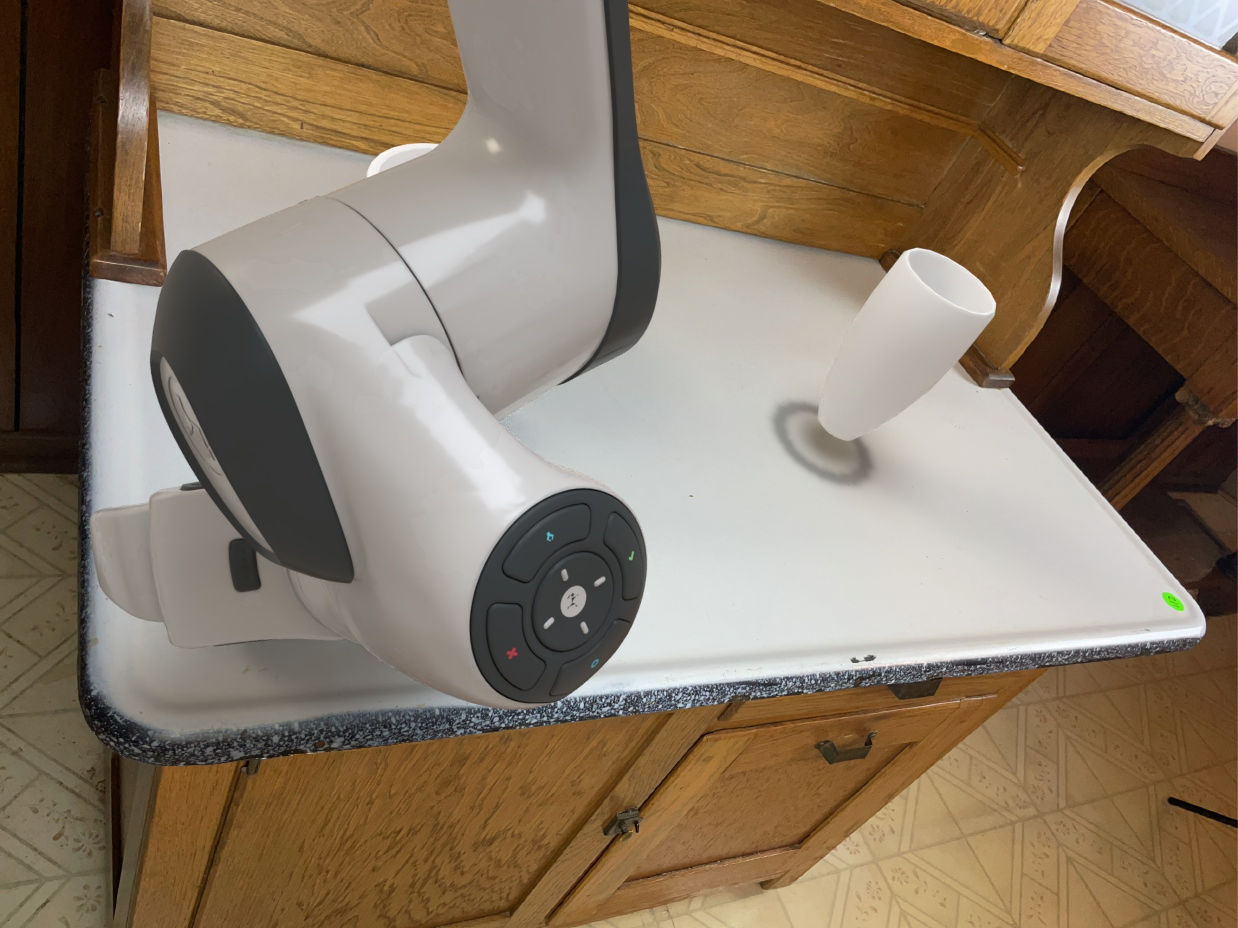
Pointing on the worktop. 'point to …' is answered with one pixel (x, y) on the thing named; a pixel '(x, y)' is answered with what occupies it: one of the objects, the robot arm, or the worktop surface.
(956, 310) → the cup
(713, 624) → the worktop surface
